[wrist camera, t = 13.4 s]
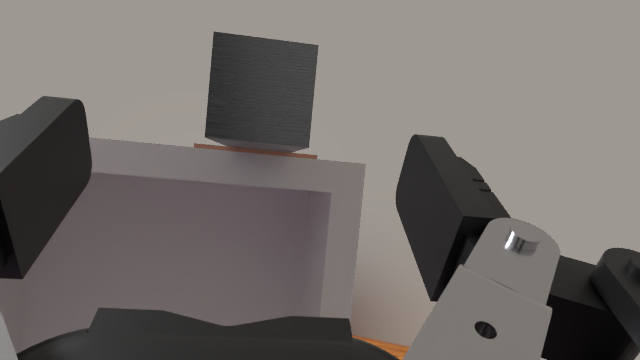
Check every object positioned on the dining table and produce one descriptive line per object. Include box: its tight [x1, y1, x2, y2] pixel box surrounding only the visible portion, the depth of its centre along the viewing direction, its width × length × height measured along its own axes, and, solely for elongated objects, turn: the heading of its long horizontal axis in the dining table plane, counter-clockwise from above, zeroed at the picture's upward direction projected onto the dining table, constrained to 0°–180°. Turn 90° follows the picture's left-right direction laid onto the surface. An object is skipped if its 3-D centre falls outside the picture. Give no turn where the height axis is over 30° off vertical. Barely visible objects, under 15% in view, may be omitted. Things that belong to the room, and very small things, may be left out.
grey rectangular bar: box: [205, 32, 318, 153], centre depth 23 cm, size 20×4×4 cm, turn 7°
